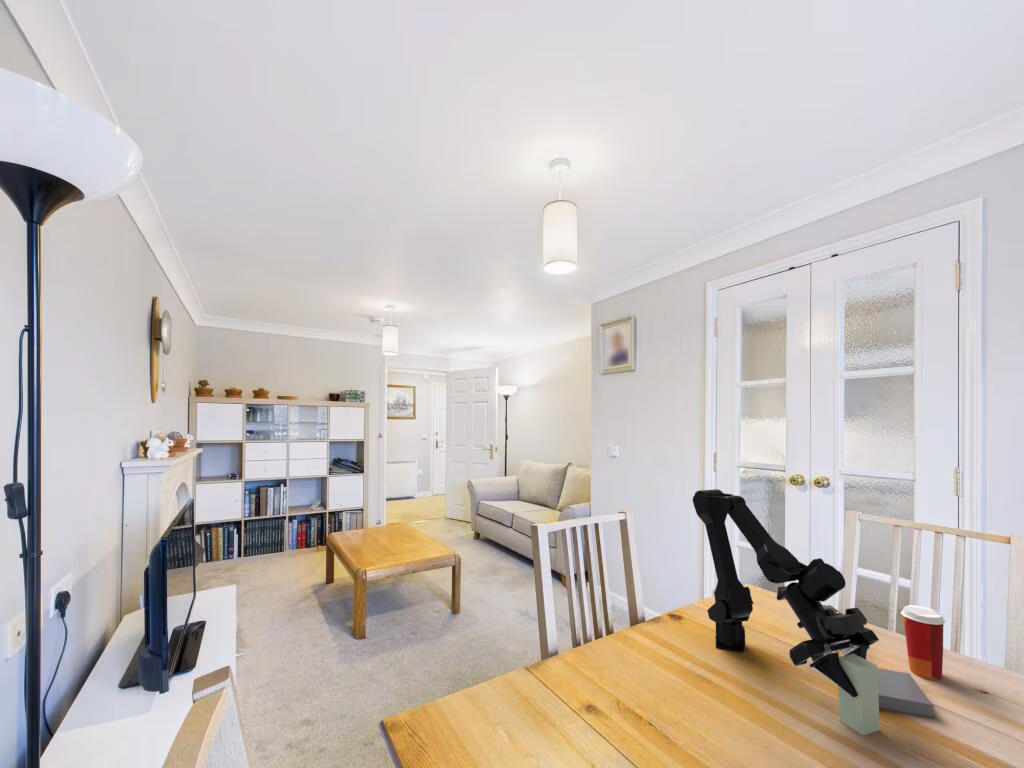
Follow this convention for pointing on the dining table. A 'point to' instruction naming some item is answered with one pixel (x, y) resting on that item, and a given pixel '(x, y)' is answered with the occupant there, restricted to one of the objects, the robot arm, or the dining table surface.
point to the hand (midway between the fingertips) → (865, 694)
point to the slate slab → (902, 693)
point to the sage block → (860, 695)
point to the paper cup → (924, 641)
